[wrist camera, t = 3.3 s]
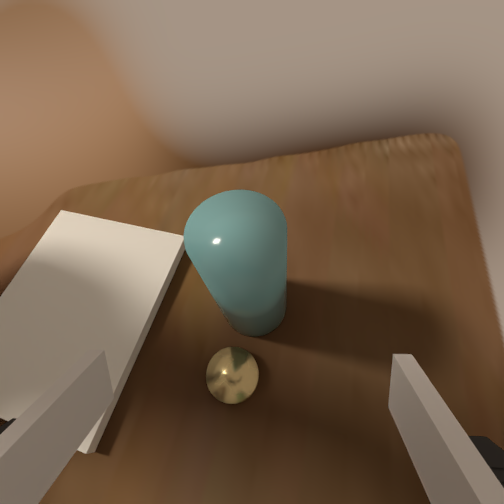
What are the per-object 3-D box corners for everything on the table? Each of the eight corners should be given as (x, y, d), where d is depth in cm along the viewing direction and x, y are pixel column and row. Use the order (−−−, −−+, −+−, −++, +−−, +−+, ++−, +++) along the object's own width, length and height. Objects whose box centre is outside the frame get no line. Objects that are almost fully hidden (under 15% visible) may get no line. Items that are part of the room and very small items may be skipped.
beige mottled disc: (202, 396, 26) (198, 395, 25) (217, 344, 28) (214, 341, 26) (252, 410, 25) (251, 410, 24) (264, 355, 27) (263, 353, 26)
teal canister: (214, 326, 28) (167, 264, 17) (234, 270, 31) (205, 183, 19) (277, 344, 27) (272, 289, 15) (292, 283, 29) (297, 198, 18)
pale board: (-53, 391, 28) (-66, 390, 27) (67, 216, 36) (61, 210, 35) (94, 452, 24) (86, 453, 23) (188, 241, 33) (185, 236, 32)
